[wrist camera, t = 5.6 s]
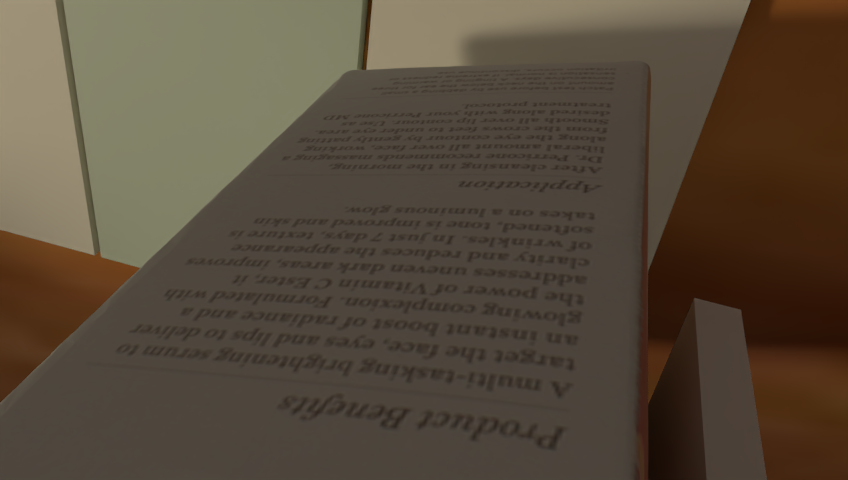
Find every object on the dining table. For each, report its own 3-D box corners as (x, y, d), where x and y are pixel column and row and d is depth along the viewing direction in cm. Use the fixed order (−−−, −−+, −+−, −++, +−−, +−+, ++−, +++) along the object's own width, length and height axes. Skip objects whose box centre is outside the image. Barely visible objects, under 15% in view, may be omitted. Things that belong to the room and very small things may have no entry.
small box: (643, 408, 16) (628, 1118, 8) (399, 386, 18) (163, 958, 9) (658, 48, 12) (663, 704, 4) (341, 59, 14) (-169, 544, 5)
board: (751, -14, 13) (754, -8, 13) (602, 382, 19) (601, 393, 19) (-502, -259, 17) (-525, -259, 17) (-312, 135, 23) (-325, 141, 22)
